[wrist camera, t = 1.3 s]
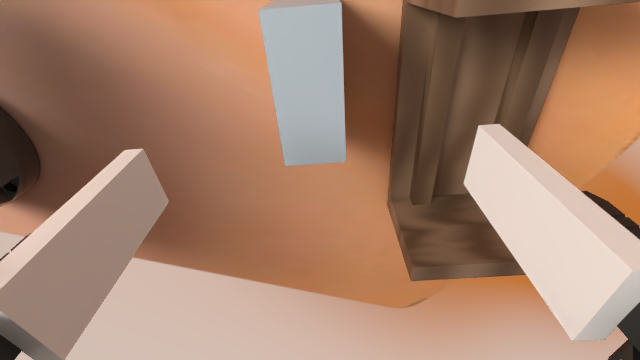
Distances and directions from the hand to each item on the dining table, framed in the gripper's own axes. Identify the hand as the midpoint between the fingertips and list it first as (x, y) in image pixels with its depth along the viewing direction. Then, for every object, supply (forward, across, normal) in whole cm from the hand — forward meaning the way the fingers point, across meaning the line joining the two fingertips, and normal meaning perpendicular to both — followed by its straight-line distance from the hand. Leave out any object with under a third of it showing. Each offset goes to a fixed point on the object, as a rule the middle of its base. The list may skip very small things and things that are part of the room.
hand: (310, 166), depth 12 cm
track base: (+18, +15, -6) cm, 24 cm away
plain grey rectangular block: (+18, 0, 0) cm, 18 cm away
